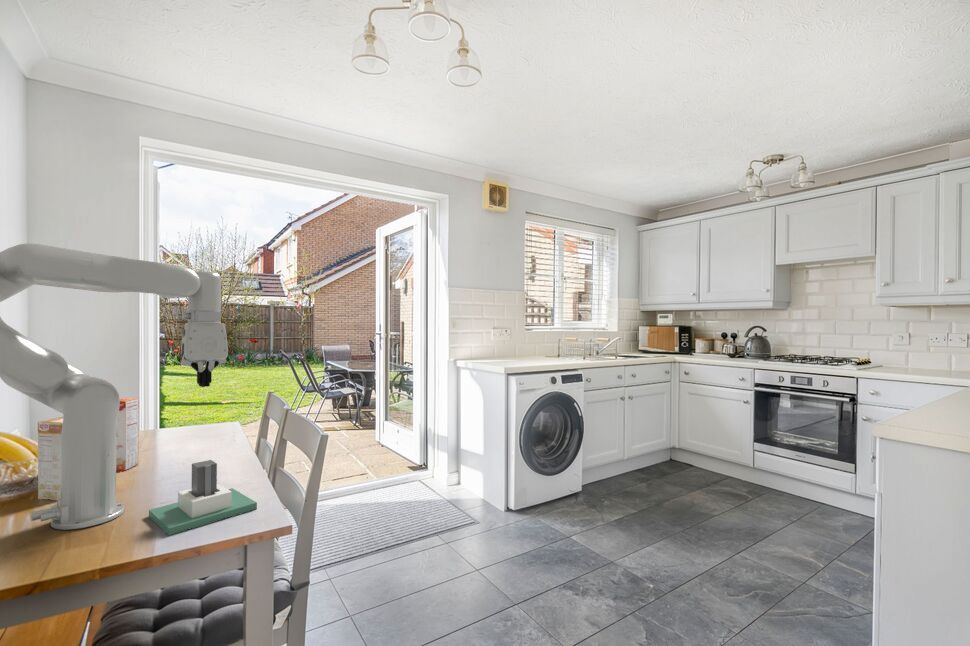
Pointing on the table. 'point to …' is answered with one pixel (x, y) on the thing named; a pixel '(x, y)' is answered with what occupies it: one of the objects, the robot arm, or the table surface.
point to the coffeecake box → (49, 458)
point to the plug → (204, 478)
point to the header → (204, 501)
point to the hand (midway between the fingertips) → (204, 386)
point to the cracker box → (127, 434)
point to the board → (179, 521)
